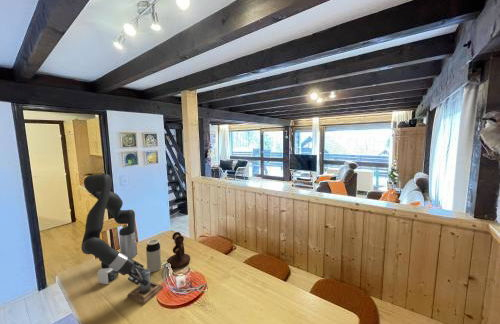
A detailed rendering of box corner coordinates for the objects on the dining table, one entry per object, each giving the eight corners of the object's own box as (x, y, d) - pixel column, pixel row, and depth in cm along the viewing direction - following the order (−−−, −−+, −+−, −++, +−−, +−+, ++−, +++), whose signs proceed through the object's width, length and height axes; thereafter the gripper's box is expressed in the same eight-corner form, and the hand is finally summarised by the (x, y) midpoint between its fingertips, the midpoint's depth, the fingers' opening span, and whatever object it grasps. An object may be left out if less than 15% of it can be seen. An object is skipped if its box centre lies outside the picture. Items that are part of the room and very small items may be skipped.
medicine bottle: (108, 284, 117) (107, 264, 116) (98, 283, 119) (96, 262, 118) (118, 276, 124) (117, 257, 123) (108, 275, 126) (107, 256, 125)
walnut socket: (146, 283, 118) (146, 278, 118) (163, 288, 114) (162, 283, 114) (127, 297, 107) (127, 292, 107) (144, 304, 103) (144, 299, 103)
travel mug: (163, 266, 134) (162, 239, 132) (153, 273, 127) (152, 245, 125) (154, 263, 137) (153, 237, 136) (144, 270, 130) (143, 242, 129)
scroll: (193, 264, 137) (192, 235, 135) (170, 272, 128) (168, 241, 127) (186, 254, 149) (185, 227, 147) (164, 261, 141) (163, 232, 139)
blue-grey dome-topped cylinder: (145, 285, 114) (144, 268, 113) (153, 288, 112) (152, 270, 111) (136, 292, 109) (135, 274, 108) (144, 295, 107) (143, 276, 106)
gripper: (125, 264, 99) (152, 281, 105) (129, 250, 112) (153, 266, 118) (112, 278, 98) (141, 294, 103) (118, 262, 111) (143, 277, 116)
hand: (147, 279), depth 111 cm, fingers open, 8 cm apart
